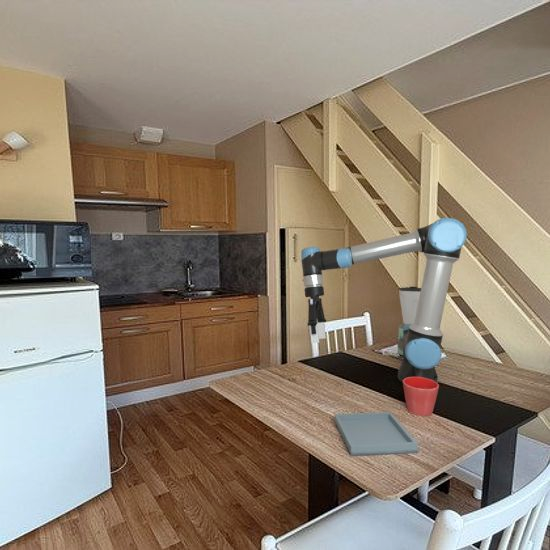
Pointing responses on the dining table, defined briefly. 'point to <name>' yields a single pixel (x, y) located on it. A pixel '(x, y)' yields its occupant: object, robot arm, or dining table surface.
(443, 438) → the dining table surface
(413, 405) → the flower pot
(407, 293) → the juicer
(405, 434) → the tray
